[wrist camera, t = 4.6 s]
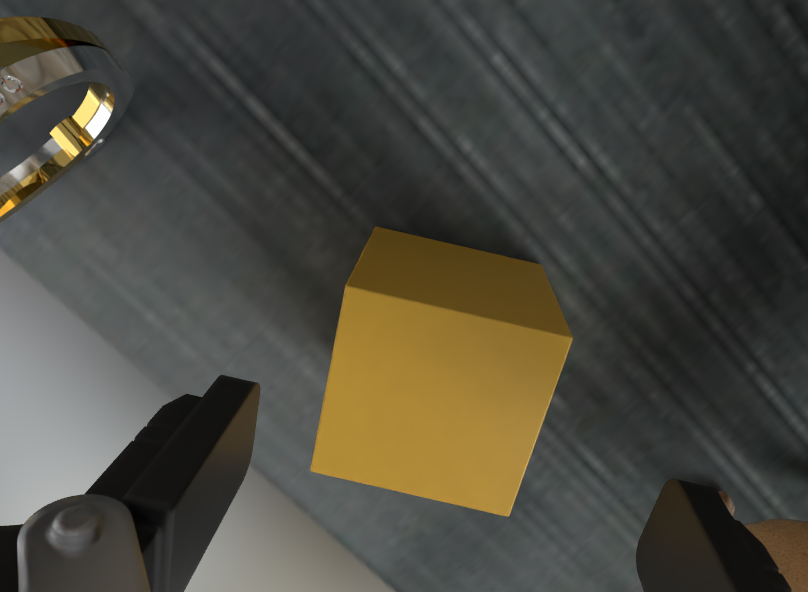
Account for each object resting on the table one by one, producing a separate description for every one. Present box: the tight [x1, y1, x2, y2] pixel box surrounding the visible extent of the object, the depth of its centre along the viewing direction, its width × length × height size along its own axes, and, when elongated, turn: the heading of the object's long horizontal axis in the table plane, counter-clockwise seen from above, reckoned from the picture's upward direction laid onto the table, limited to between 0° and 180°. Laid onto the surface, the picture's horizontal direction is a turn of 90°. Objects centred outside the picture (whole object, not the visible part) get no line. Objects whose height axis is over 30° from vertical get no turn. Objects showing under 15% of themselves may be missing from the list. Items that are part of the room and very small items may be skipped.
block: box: [311, 226, 573, 516], centre depth 16 cm, size 5×5×5 cm
